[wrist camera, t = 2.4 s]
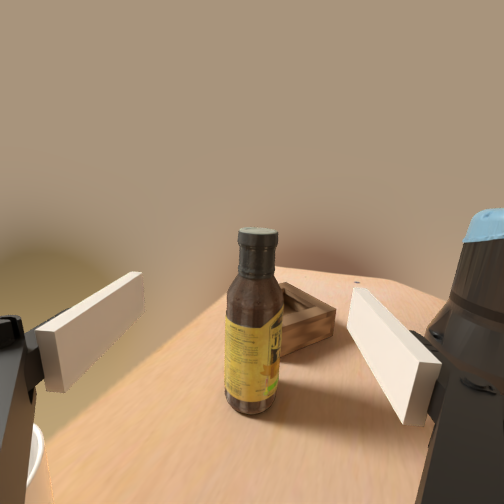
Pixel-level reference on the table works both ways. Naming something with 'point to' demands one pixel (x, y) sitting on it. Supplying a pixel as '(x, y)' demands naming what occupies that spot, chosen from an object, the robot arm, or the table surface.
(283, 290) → the crate
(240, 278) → the sauce bottle
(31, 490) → the white cup
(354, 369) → the table surface
